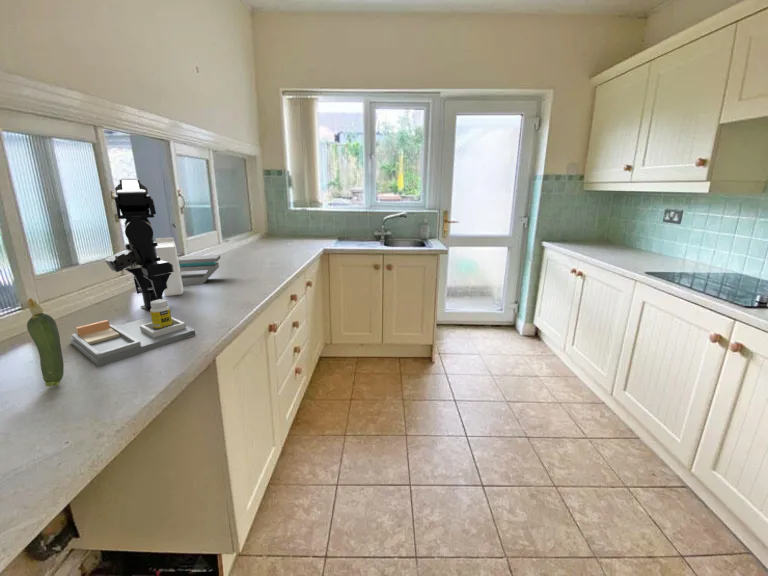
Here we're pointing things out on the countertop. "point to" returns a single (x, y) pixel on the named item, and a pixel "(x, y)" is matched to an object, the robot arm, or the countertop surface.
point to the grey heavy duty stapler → (198, 268)
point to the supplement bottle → (160, 314)
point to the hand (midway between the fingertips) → (151, 294)
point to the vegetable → (46, 344)
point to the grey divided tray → (132, 340)
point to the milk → (169, 254)
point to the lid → (96, 332)
